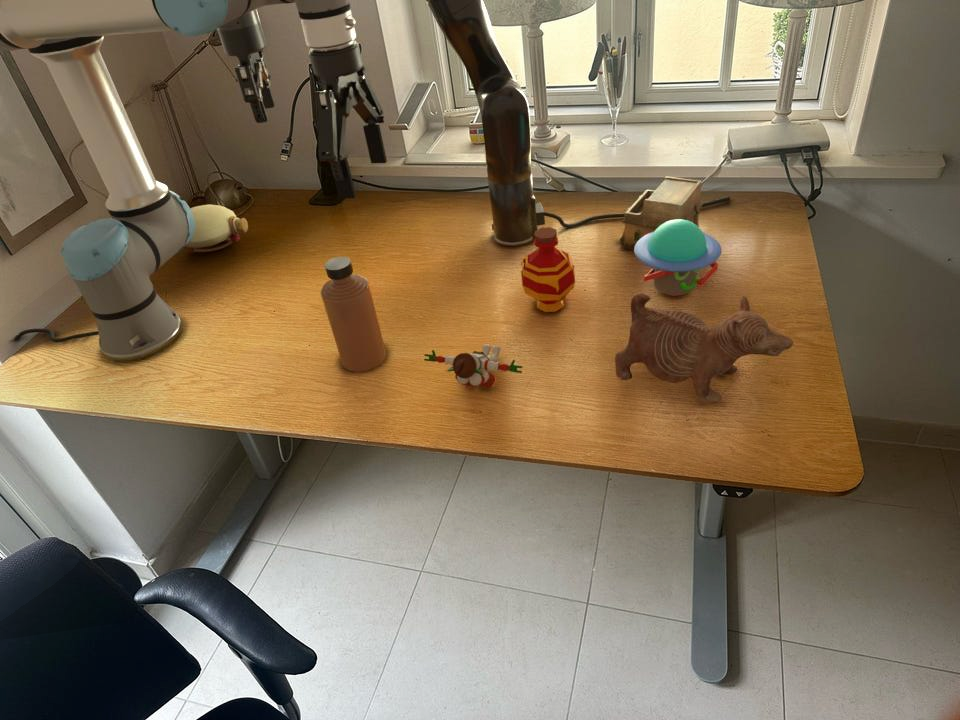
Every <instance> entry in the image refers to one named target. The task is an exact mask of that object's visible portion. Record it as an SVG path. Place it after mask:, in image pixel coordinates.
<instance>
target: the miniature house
mask: <svg viewBox="0 0 960 720" xmlns="http://www.w3.org/2000/svg"><path fill="white" fill-rule="evenodd" d="M702 183H703V181H702V180H699V179H698V180H697V179H690V178H683V177H676V176H675V177H674V176H667V175H666V176H665V177H664V178H663V181H662V182H661V183H660V185H659V186H658V187H657V188H656V189H646V190H644V191H643V193H642V194H641V195H639V196H638V197H637V199H636V200H635V202H634V203H632V205H630V207H628V208H626V211H625V212H624V213H625V215H624V216H625V217H623V218H624V219H623V220H622V221H621V224H624V229H623V232H622V235H621V237H620V238H619V242H620V243H623V249H625V250H630V251H634V247H635V245H636V243H637V242H638V240H640V239H641V238H642V237H643V236H645V235H647V234H649V233H651V232H654V231H655V230H656V229H657V228H658V227H659V226H660V225H662V224H664V223H665V222H667V221H670V220H675V219H682V220H688V221H690V222H692V223H694V224H696V225H697V226H698V227H699V228H700V224H699V215H700V213H701V208H703V207H702V206H703V204H701V203H702V202H701V193H702V192H701V191H702Z"/></svg>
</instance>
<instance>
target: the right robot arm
mask: <svg viewBox="0 0 960 720" xmlns="http://www.w3.org/2000/svg"><path fill="white" fill-rule="evenodd" d="M425 1H426V4H427V5H428V7H429V9H430V11H431V13H432V15H433V18H434V20H435V22H436V23H437V25H438V27H439V29H440V31H441V32H442V34H443V36H444V37H445V40H447V42H448V43H449V45H450V46H451V47H452V49H453V50H454V52H455V53H456V55H457V56H458V58H459V59H460V61H461V62H462V64H463V66H464V69H465V71H466V73H467V76H468V77H469V80H470V83H471V86H472V88H473V91H474V93H475V97H476V100H477V104H478V109H479V111H480V116H481V125H482V132H483V133H482V134H483V142H484V158H485V166H486V175H487V182H488V183H487V184H488V191H489V200H490V201H489V202H490V210H491V216H492V217H491V218H492V219H491V220H492V224H491V231H492V232H493V239H494V241H495V242H496V243H497V244H498V245H502V246H505V247H519V246H524V245H526V244H529V243H531V242H532V241H534V239H535V231H536V230H538V226H545V225H546V219H545V217H548V218H553V219H555V220H557V221H558V223H559V224H560V226H561V227H562V228H567V229H572V228H576V227H579V226H583V225H586V224H588V223H590V222H593V221H597V220H605V219H617V218H618V219H619V218H625V216H624V215H625V213H626V212H619V213H605V214H599V215H592V216H589V217H587V218H585V219H582V220H580V221H578V222H574V223H565V221H564V219H563V218H562V217H561V216H559V214H556V213H552V212H547V211H545V210H544V208H543V205H542V202H541V201H539V202H536V197H535V195H534V186H533V185H534V183H533V182H534V181H533V172H532V171H533V169H532V155H531V150H532V137H531V135H532V133H531V132H532V131H531V117H530V116H531V115H530V106H529V102H528V99H527V97H526V94H525V93H524V89H523V87H522V86H521V85H520V83H519V82H518V80H517V79H516V77H515V76H514V74H513V72H512V70H511V68H510V67H509V65H508V64H507V62H506V60H505V58H504V56H503V55H502V52H501V50H500V48H499V46H498V43H497V40H496V37H495V33H494V30H493V26H492V21H491V18H490V16H489V12H488V9H487V7H486V4H485V1H484V0H425ZM216 31H217V34H218V36H219V39H220V41H221V46H222V49H223V52H224V53H225V54H226V55H227V56H229V57H236V58H237V59H238V65H237V66H236V67H235V68H234V72H235V74H236V77H237V80H238V84H239V87H240V90H241V93H242V98H243V101H244V102H245V104H247V103H248V104H249V105H250V108H251V111H252V114H253V118H254V121H255V122H256V123H257V124H263V123H267V122H268V120H269V117H268V114H267V111H266V109H273V108H274V107H275V105H276V104H275V100H274V96H273V93H272V90H271V80H272V76H271V73H270V71H269V67H268V64H267V61H266V58H265V54H264V50H265V49H266V48H267V45H268V44H267V40H266V37H265V33H264V30H263V27H262V23H261V19H260V17H259V13H258V8H257V9H255V10H253V11H251V12H249V13H247V14H245V15H243V16H240V17H238V18H236V19H234V20H232V21H230V22H228V23H226V24H224V25H222V26H220V27H219V28H217V29H216ZM251 91H252V94H251ZM730 200H731V198H730V196H725V197H720V198H716V199H714V200H709V201H706V202H700V203H701V204H703V206H702V207H701V208H705V207H709V206H713V205H714V206H715V205H717V204H721V203H725V202H728V201H730Z"/></svg>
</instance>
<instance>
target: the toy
mask: <svg viewBox="0 0 960 720" xmlns="http://www.w3.org/2000/svg"><path fill="white" fill-rule="evenodd" d="M491 348H492V353H491V354H490V352H491ZM501 349H502V346H499V345H493V346H492V345H490V344H488V343H486V344H483V345H482V351H481V350H473V352H471V353H469V352H462V353H459V354H457V355H456V356H452V355H451V356H449V355H446V356H442V355H437V354H436V351H435V350H434V349H431V352H432V354H428V353H425V354H424V357H428V358H424V359H423V361H425V362H431V363H436V362H437V363H439V364H444V363H445V365H446V366H448V365H449V366H450V367H449V368H447V369H445V370H444V372H447V373H448V372H449V373H450V372H454V374H455V377H454V378H455V380H456V381H457V383H459V384H460V385H462V386H465V387H469V388H470V387H473V388H474V387H475V388H476V387H480V386H482V387H483V389H488V388H492V387H493V386H494V385H495V382H496V375H494V374H492V373H489V372H488V371H491V372H492V371H493V372H494V371H496V372H499V371H503V372H510V373H517V374H522V373H523V371H522V370H518V369H523V366H522V365H516V364H515V362H516V360H515V359H513V360H512V361H511V362H510V364H507V363H500V352H501Z"/></svg>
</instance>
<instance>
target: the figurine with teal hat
mask: <svg viewBox="0 0 960 720" xmlns="http://www.w3.org/2000/svg"><path fill="white" fill-rule="evenodd" d="M722 250H723V249H722V246H721V244H720V243H719V241H718V240H717V239H716V238H715V237H713V236H712V235H710V234H708V233H705V232H703V230H702V229H701V228H700V226H699V227H698V226H697V225H696V224H694V223H692V222H690V221H688V220H682V219H675V220H670V221H667V222H665V223H664V224H662V225H660V226H659V227H658V228H657V229H656V230H655V231H654V232H651V233H649V234H647V235H645V236H643V237H642V238H641V239H640V240H638V242H637V243H636V245H635V247H634V250H633V252H634V256H635V257H636V258H637V259H638V261H640V262H641V263H642V264H644V265H645V266H647V267H650V268H651V269H650V270H649V271H648V272H647V273H646V274H645V275H644V276H643V282H644V283H645V282H648V281H651V280H653V287H654V289H656V291H658V292H659V293H662V294H666V295H668V296H671V297H678V296H682V295H685V294H689V293H691V292H693V291H694V290H695V289H696V287H697V286H699V287H703V286H704V285H705V283H706V282H708V280H709V279H710V278H711V277H712V276H713V275H714V274H715V272H717V270H718V266H719V264H718V262H717V260H718V259H719V258H720V257H721V255H722ZM707 267H711V268H710V270H709V271H707V272H706V274H705V275H704V276H703V277H700V278H699V277H698V273H699V272H701V271H703V269H704V268H707Z"/></svg>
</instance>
